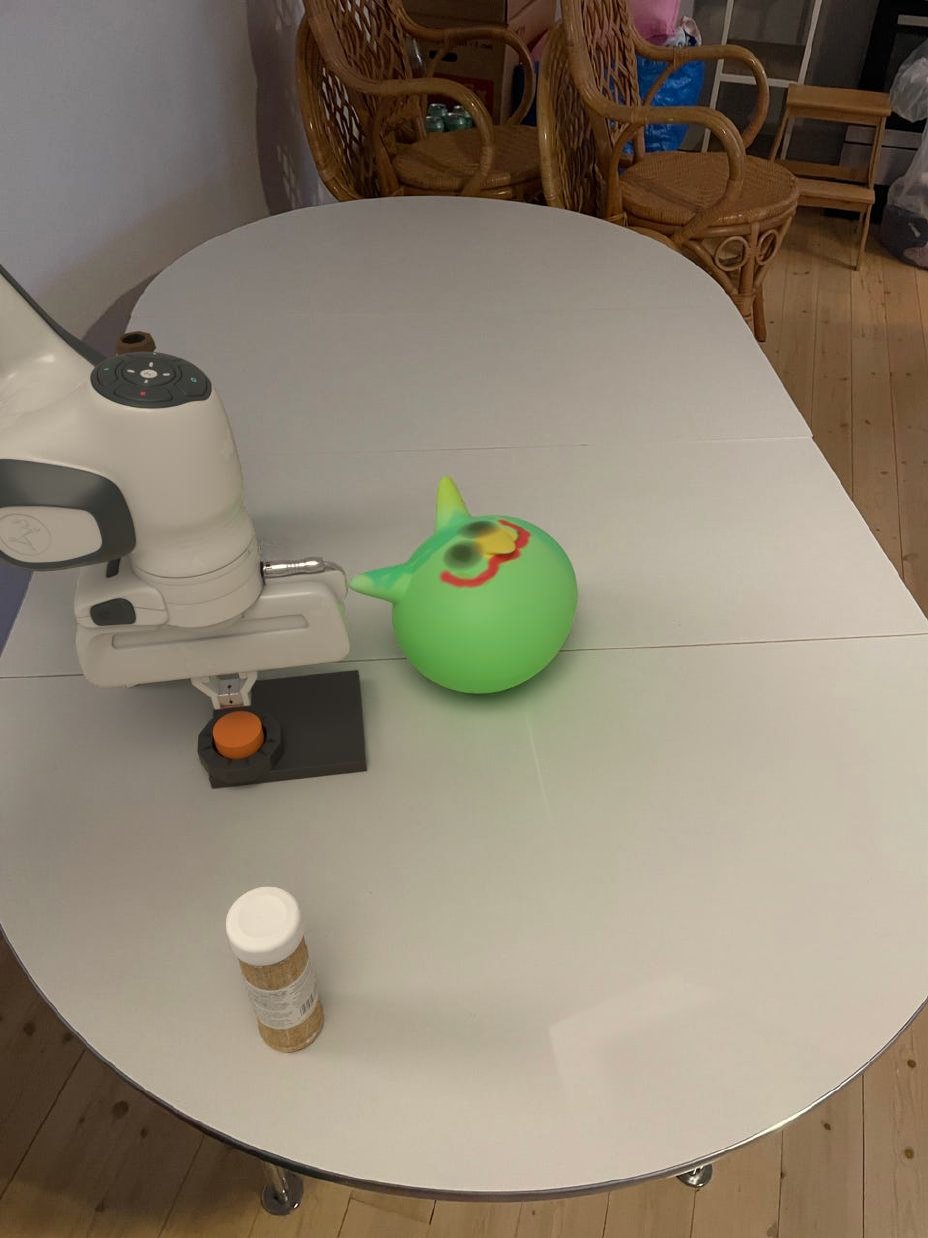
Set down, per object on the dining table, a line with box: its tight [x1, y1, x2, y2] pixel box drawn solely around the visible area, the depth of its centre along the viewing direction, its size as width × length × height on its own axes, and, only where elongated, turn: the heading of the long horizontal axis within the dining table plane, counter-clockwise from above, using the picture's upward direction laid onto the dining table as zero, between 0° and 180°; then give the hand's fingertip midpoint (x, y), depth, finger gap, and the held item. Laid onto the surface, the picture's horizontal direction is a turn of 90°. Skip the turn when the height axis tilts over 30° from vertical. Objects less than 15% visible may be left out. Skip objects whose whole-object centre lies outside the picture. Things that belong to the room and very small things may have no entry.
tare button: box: [213, 711, 264, 759], centre depth 87 cm, size 4×4×2 cm
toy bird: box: [348, 475, 579, 694], centre depth 93 cm, size 18×17×15 cm
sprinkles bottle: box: [225, 885, 325, 1053], centre depth 67 cm, size 5×5×13 cm
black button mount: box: [196, 669, 368, 790], centre depth 90 cm, size 14×12×3 cm
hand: (233, 702), depth 85 cm, fingers closed
